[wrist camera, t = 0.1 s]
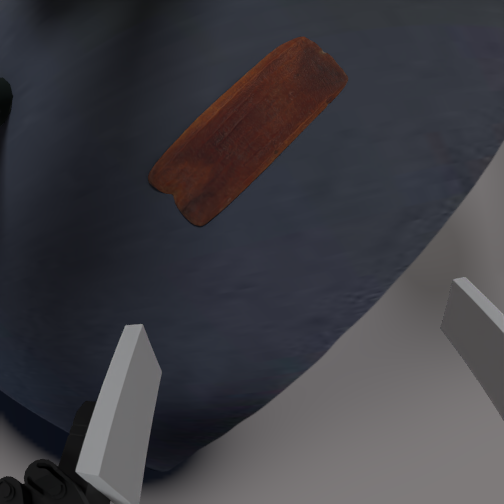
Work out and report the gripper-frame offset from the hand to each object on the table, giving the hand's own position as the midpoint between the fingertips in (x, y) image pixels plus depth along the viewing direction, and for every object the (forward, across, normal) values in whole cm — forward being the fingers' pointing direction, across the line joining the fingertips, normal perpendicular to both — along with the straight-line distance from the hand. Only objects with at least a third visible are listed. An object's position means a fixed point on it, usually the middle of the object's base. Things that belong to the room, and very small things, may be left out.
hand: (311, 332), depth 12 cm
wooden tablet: (+29, 0, +6) cm, 29 cm away
